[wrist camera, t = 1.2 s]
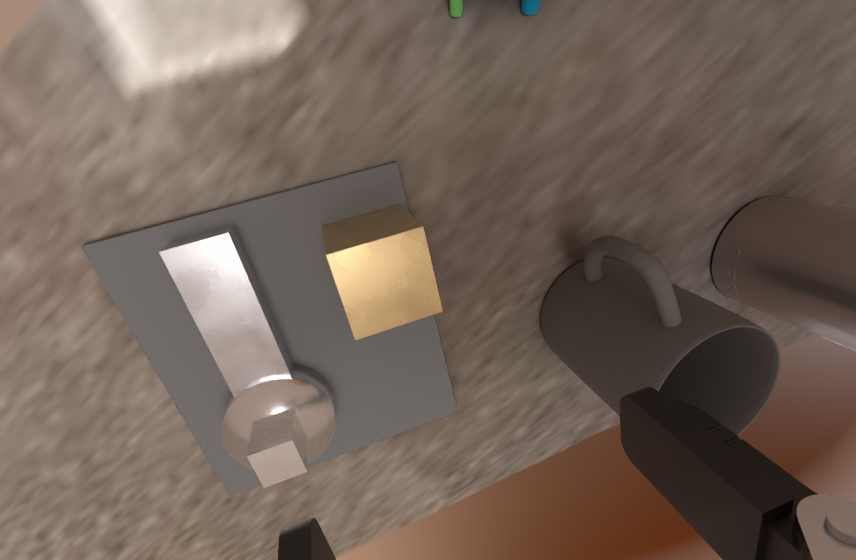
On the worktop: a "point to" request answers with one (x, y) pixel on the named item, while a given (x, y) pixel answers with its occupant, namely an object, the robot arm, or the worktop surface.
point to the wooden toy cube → (381, 269)
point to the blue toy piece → (528, 7)
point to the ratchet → (251, 359)
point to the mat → (282, 318)
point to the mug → (656, 337)
